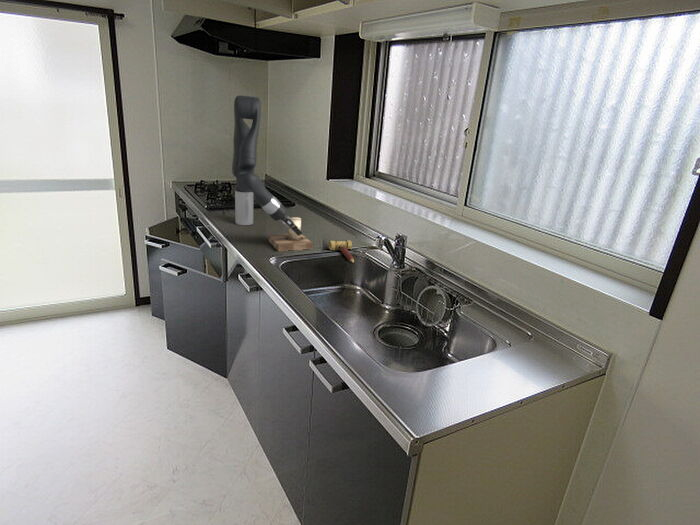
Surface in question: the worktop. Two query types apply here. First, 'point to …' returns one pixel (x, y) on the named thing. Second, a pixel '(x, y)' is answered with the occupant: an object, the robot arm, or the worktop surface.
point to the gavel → (342, 248)
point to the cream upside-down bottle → (291, 233)
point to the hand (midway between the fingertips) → (297, 232)
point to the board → (289, 242)
